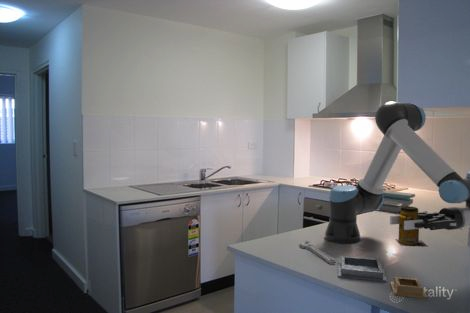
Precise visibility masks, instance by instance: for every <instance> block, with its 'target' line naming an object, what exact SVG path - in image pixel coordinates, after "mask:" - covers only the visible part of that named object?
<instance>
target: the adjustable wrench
mask: <svg viewBox="0 0 470 313" xmlns="http://www.w3.org/2000/svg"><path fill="white" fill-rule="evenodd" d="M299 243H300V244H299V246H300V248H301V249H306V250H309V251H311V252H312V253H314V254H315V255H317V256H318V255H319V257H320V258H321V257H322V258H323V259H322V258H321V259H322V260H324V259H325V260H326V261H325V260H324V261H325V262H327V263H328V262H329V263H332V264H331V265H336V264H337V260H336V259H335V258H333V257H332V256H331V255H329V254H327V253H326V252H324V251H323V250H321V249H319V248H318V247H316V245H315V242H314V241H311V240H305V242H302V241H300V242H299ZM329 263H328V264H329ZM335 263H336V264H335Z"/></svg>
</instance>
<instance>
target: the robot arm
mask: <svg viewBox="0 0 470 313" xmlns="http://www.w3.org/2000/svg"><path fill="white" fill-rule="evenodd" d="M411 103H412V102H411ZM411 103H407V101H405V102H404V101H402V102H401V101H400V102H399V101H388V102H385V103H383V104H382V105H380V106H379V107H378V109H377V110H376V112H375V117H374V120H375V124H376V126H377V128H378V129H379V131H380V132H381V133H382V135H383V137H382V139H381V140H380V143H379V145H378V147H377V150H376V151H375V154H374V156H373V158H372V160H371V162H370V164H369V166H368V169H367V171H366V173H365V175H364V176H363V177H364V178H361V179H359V180H358V182H357V184H356V186H355V185H350V184H349V185H348V184H345V185H338V186H333V187H332V188H331V190H330V192H329V221H328V224H327V227H326V229H325V232H324V235H325V236H324V237H325V240H327V241H329V242H333V243H335V244H336V243H337V244H357V243H359V242H360V241H361V232H360V230H359V226H358V224H357V223H358V222H357V217H358V214H363V213H373V212H375V211H377V210H378V209H379V208H380V207H381V206H382V204H383V202H384V203H385V201H384V197H383V196H384V195H383V192H384V188H383V185H384V184H385V182H386V180H387V178H388V175H389V174H390V172H391V169H392V168H393V166H394V164H395V162H396V160H397V158H398V156H399V154H400V153H401V150H402V151H403V152H404V153H405V154H406V155H407V156H408V157H409V159H411V160H412V162H413V163H414V164H416V166H417V167H418V168H419V169H420V170H422V172H423V173H424V174H425V175H426V176H427V177H428V178H429V179H430V180H431V181H432V182H433V183H434V184H435V185H436V187H437V188H438V194H439V197H440V198H441V200H442V201H444V202H445V203H448V204H462V203H464V202H465V205H463V206H451V207H450V206H448V207H442V208H441V209H440V210H439V212H437V211H436V212H435V211H434V212H428V211H420V212H419V211H418V216H419V220H410V221H404V230H410V229H419V230H421V229H424V230H428V229H429V230H430V231H437V230H444V229H445V230H446V231H450V230H460V231H463V229H470V171H468V172H466V177H465V178H463V177H462V176H461V175H460V174H458V172H457V171H456V170H454V168H452V166H450V164H448V162H446V161H445V160H444V159H443V158H442V157H441V156H440V155H439V154H438V153H437V152H436V150H434V149H433V148H432V147H431V146H430V145H429V144H428V143H427V142H426V141H425V140H424V139H423V138H422V137H421V136H420V135H419V134H417V131H419V130H421V129H422V128H424V125H425V124H426V119H427V117H426V116H427V115H426V112H425V109H424V108H423V107H422V108H420V107H418V106H416V105H414V104H411ZM399 216H400V214H399V215H390V218H389V225H391V226H392V225H399Z"/></svg>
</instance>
